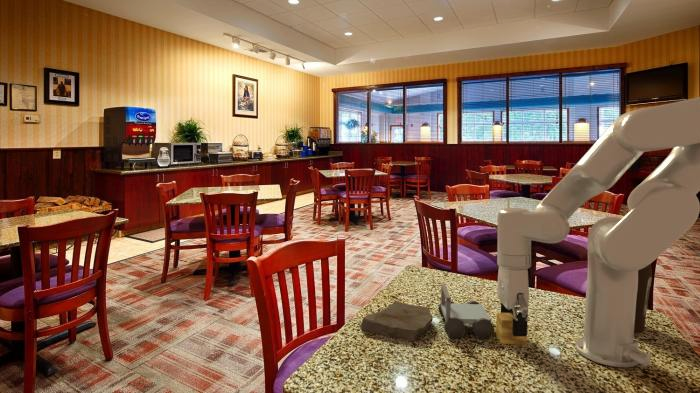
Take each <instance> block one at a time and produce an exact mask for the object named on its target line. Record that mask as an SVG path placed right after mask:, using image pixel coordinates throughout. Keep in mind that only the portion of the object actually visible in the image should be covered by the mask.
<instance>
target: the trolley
mask: <svg viewBox="0 0 700 393" xmlns="http://www.w3.org/2000/svg"><path fill="white" fill-rule="evenodd" d="M451 298H452V297H451V295H450V293H449V290H448V288H447V286H446V284H445V283H441V285H440V304H438V313H439V315H440V317H442V319H444V320H445V322H444V324H443V328H444V331H445V334H446V336H448V337H449V338H451V339H459V338H461V337H463V335H464V334H465V332H466V325H465V324H470V325H471V324H472V331H473V333H474V336H476V337H477V338H478V339H481V340H487V339H490V338H491V337H492V336H494V333H495V327H494V325H493V323H492V319H491V317H490V316H489V314H488V312H487V311H486V309H485V308H484V306H483V304H482V303H480V302H478V301H476V300H470V301H467V303H454V302H453V301H452V299H451Z"/></svg>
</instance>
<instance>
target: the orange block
mask: <svg viewBox="0 0 700 393" xmlns="http://www.w3.org/2000/svg"><path fill="white" fill-rule="evenodd" d="M513 319H514V316H513V315H512V314H511V313H501V312H496V320H495V321H496V325H495V326H496V327H495V329H496V330H495V336H496V337H497V339H498V341H499V343H500V344H506V345H507V344H508V345H509V344H511V345H527V342H528V341H527V339H528V335H527V336H513V334H512V326H513Z"/></svg>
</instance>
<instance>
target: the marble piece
mask: <svg viewBox="0 0 700 393" xmlns="http://www.w3.org/2000/svg"><path fill="white" fill-rule="evenodd" d="M433 319H434V318H433V315H432V313H431V310H430V308H429V307H427V306H424V305H423V306H421V305H415V304H410V303H405V302H402V301H401V302H400V301H393V302H392V303H390V304H389V305H387V307H385V308H383V309H382V310H380V311H377V312H373V313H370V314H367V315H365V316H363V318H362V320H361V323H360V324H361V325H360V329H361V331H364V332H367V333H372V334H376V335H379V336H380V335H381V336H386V337H389V338H390V337H391V338H395V339H399V340H404V341H408V342H414V341H415V339H417V338H418V337H421V336H422V335H423V333H424V332H426V331H428V330H429V327H430V325H431V323H432V322H433Z"/></svg>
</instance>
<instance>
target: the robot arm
mask: <svg viewBox="0 0 700 393" xmlns="http://www.w3.org/2000/svg"><path fill="white" fill-rule="evenodd" d="M667 149H671V152H670V153H669V154H668V155H667V157H666V158H665V159H664V160H663V161H662V162H661V163H660V164H659V165H658V166H657V167H656V168H655V169H654V170H653V171H652V172H651V173H650V174H649V175H648V176H647V177H646V178H645V179H644V180H643V181H642V182H641V183H640V184H638V185H637V186H636V187H635V188H633V189H632V191H631V192H630V194H629V196H628V198H627V201H626V203H627V208H628V212H627V213H626V214H625V215H624V216H623V217H618V216H606V217H603V218H600V219H599V220H597V221H595V223H593V225H592V226H591V227H590V229H589V231H588V235H587V277H586V280H587V281H586V292H585V293H586V294H585V305H584V322H583V323H584V324H583V335H582V336H581V337H579V338H577V339H576V340H575V345H574V346H575V349H576V351H577V353H579V354H580V355H582V356H583V357H585V358H586V359H588V360H590V361H592V362H596V363H598V364H601V365H604V366H608V367H614V368H631V367H635V366H638V365H641V366H643V367H645V368H646V367H648V366H649V365H650V362H651V361H650V360H651V354H650V353H647V352H645V351H643V350H641V349H640V348H639V341H638V340H635V339H634V335H635V333H634V323H635V310H636V298H637V288H638V270H640V269H642V268H644V267H646V266H648V265H649V264H650V265H651V264H652V263H653V262H654V261H655V260H657V259H658V258H659V257H660V256H661V255H663V253H664V252H666V251H667V250H668V249H670V247H671V246H672V245H674V244H675V243H676V242H677V241H679V239H681V238H682V236H684V235H685V234H686V233H687V232H688V231H689V230H690V229H691V228H692V227H693V226H694V225H695V223H696V221H697V219H698V218H699V216H700V215H699V214H700V201H699V198H698V197H697V194H699V192H700V96H699V97H694V98H690V99H686V100H685V99H684V100H680V101H675V102H672V103H671V102H669V103H666V104H665V103H664V104H660V105H656V106H650V107H643V108H638V109H635V110H631V111H628V112H627V111H626V112H625V113H623V114H621V115H619V116H618V117H617V118H616V119H614V121H612V123H611V124H610V125H609V126H608V128H606V130H605V131H604V132H603V133H602V134H601V136H599V138H598V139H597V140H596V141H595V142H594V143H593V145H592V146H591V147H590V148H589V149H588V150H587V152H586V153H585V154H584V155H583V156H582V157H581V158H580V159H579V161H578V162H577V163H576V164H575V165H574V166H573V167H572V168H571V169H570V170H569V171H568V172H567V173H566V175H564V177H563V178H562V179H561V180H560V181H559V182H558V183H556V185H554V187H553V188H552V189H551V190H550V191H549V192H548V194H547V195H545V197H544V198H543V199H542V200H541V201H540V203H539V204H538V205H537V206H536V207H535V209H534V210H533V211H530V210H528V209H527V208H526V209H525V208H521V207H507V208H506V207H505V208H501V209H500V210H499V211H498V212H497V248H496V249H497V257H496V258H497V260H496V264H497V266H498V273H497V287H496V289H497V290H496V295H497V298H498V300H499V301H500V313H511V314H512V315H513V316H514V319H513V326H512V334H513V336H527V337H528V320H529V319H528V317H529V303H530V302H529V301H530V300H529V299H530V296H529V295H530V294H529V293H530V291H529V290H530V286H529V284H530V283H529V271H528V269H530V268H531V266H532V241H535V242H540V243H545V244H556V243H560V242H562V241H564V240H565V239H566V238H567V237H568V235H569V233H570V229H571V228H570V227H571V226H570V222H569V219H570V218H571V216H573V215H574V214H575V212H577V210H579V208H581V206H583V205H584V204H586V202H587V201H589V200H590V199H592V198H593V197H596V196H598V195H600V194H602V193H605V192H607V190H609V189H610V188H612V187H613V186H614V185H615V184H616V183H617V182H618V180H620V179H621V177H622V176H623V175H624V174H625V173H626V172H627V170H629V169H630V168H631V167H632V165H633V164H635V162H636V161H637V160H638V159H639V158H640V157H641V156H642V155H643V153H645V152H652V151H653V152H654V151H660V150H667ZM517 311H519V312H517Z"/></svg>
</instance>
